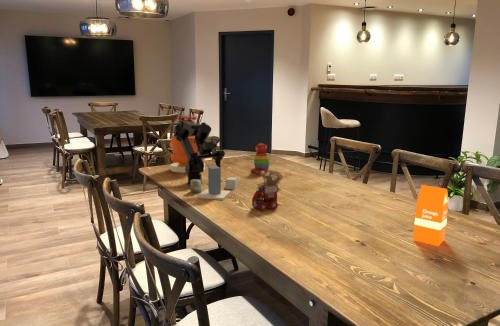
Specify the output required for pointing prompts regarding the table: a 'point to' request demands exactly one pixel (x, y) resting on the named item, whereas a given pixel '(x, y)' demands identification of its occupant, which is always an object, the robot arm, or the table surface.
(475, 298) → the table surface
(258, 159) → the stacking bear
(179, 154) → the potted cactus
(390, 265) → the table surface
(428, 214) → the orange juice
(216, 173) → the tall block
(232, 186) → the white cube
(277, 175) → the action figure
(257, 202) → the toy fire truck
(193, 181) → the sage cylinder
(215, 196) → the plate
